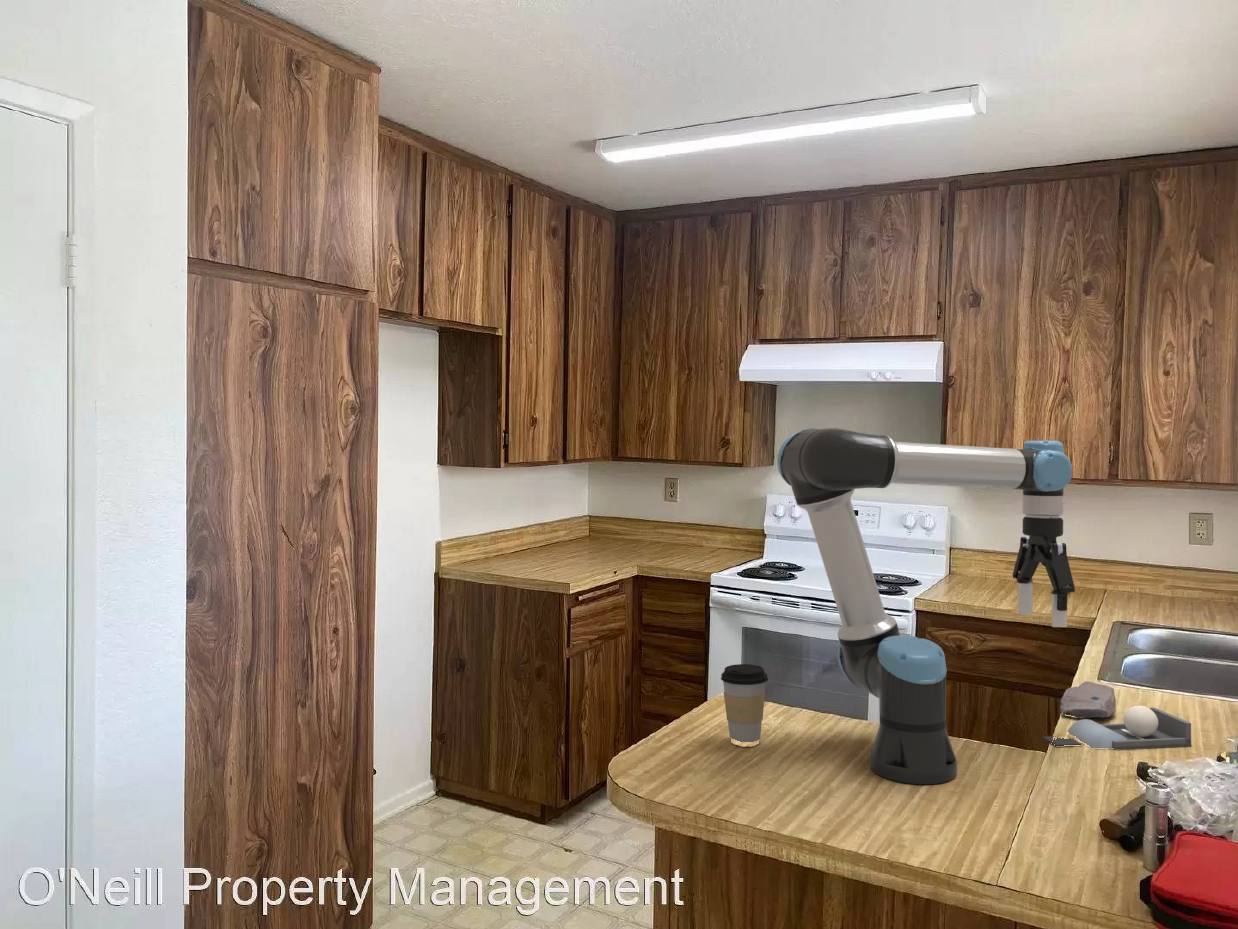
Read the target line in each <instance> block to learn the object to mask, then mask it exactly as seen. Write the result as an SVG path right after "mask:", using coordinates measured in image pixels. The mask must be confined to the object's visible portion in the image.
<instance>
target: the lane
mask: <svg viewBox="0 0 1238 929" xmlns="http://www.w3.org/2000/svg"><path fill="white" fill-rule="evenodd" d="M1149 709H1151V710H1152V711H1153V712H1154V713H1155V714H1156V716H1157V718H1158V728H1157V730H1156V732H1155V733H1154V734H1152V735H1150V736H1147V737H1140V736H1136V735H1134V734H1132V733H1131V732H1130V731H1129V730H1128V729H1127V728H1126V726H1125V724H1124V723H1107V724H1105V723H1104V724H1101V725H1102V726H1104V727H1106V728H1108V729H1110V730H1112V731H1114V732H1116V733H1118V734H1120V735H1122V736H1123V737H1125V738H1126V739H1127V740H1121V741H1112V748H1114V749H1126V750H1142V749H1143V750H1144V749H1146V750H1147V749H1164V748H1184V747H1185V748H1186V747H1187V748H1188V747H1192V723H1191V722H1190V721H1187V720H1184V719H1182V718H1181V717H1178V716H1175V715H1173V714H1170V713H1168V712H1166V711H1164V710H1161V709H1159V708H1157V707H1149ZM1114 749H1113V750H1114Z"/></svg>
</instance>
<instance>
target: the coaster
mask: <svg viewBox="0 0 1238 929" xmlns="http://www.w3.org/2000/svg"><path fill="white" fill-rule="evenodd" d="M1056 736H1057V735H1055V737H1056ZM1053 737H1054V736H1051V735H1050V736H1042V740H1043V741H1045V742H1046V743H1049V745H1051V746H1053V745H1054V744H1055V746H1064V745H1081V746H1082V743H1080V742H1078V741H1076V740H1074V739H1073V738H1072V739H1071V737H1070V738H1069V739H1064V738H1062V739H1061V738H1058V737H1057V739H1056V740H1055V738H1054V740H1053ZM1052 741H1053V742H1052ZM1051 743H1052V744H1051ZM1055 746H1054V747H1055Z"/></svg>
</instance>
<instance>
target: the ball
mask: <svg viewBox="0 0 1238 929" xmlns="http://www.w3.org/2000/svg"><path fill="white" fill-rule="evenodd" d="M1123 724H1125V726H1126V728H1127V729H1128V730H1129V731H1130V732H1131V733H1132V734H1134V735H1136V736H1140V737H1147V736H1150V735H1152V734H1154V733H1155V732H1156V730H1157V728H1158V718H1157V716H1156V714H1155V713H1154V712H1153V711H1152V710H1151V709H1150V707H1147V706H1144V705H1134V706H1131V707H1129V708H1128V709H1127V710H1126V711H1125V712H1124V714H1123Z"/></svg>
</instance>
